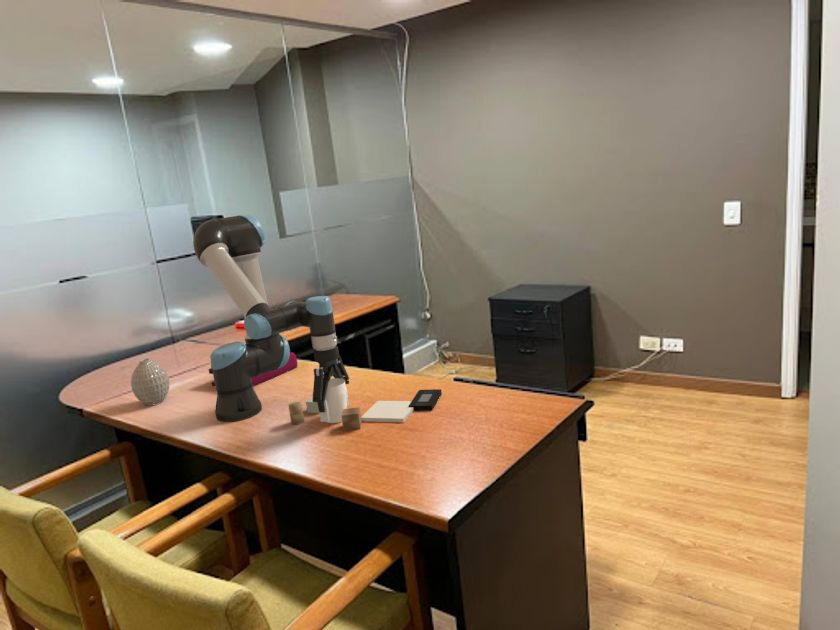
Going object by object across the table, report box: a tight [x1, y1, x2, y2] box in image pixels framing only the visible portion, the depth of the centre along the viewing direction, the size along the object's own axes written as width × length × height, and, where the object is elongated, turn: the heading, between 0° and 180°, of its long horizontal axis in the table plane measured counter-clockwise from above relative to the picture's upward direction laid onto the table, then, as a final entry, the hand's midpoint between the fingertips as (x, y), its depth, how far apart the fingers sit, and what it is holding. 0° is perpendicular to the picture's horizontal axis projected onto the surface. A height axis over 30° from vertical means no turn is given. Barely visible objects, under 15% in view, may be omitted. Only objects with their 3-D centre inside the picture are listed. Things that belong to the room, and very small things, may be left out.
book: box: [208, 351, 298, 387], centre depth 249 cm, size 21×28×8 cm
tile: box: [361, 400, 415, 423], centre depth 194 cm, size 14×14×1 cm
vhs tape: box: [409, 388, 443, 412], centre depth 200 cm, size 8×14×2 cm, turn 166°
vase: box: [130, 357, 170, 406], centre depth 229 cm, size 13×13×17 cm
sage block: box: [305, 396, 319, 414], centre depth 204 cm, size 5×7×4 cm
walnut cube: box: [341, 407, 363, 432], centre depth 186 cm, size 5×5×5 cm
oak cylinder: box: [287, 401, 305, 426], centre depth 195 cm, size 4×4×6 cm
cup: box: [325, 377, 348, 424], centre depth 193 cm, size 9×9×12 cm
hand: (335, 412), depth 193 cm, fingers open, 13 cm apart
